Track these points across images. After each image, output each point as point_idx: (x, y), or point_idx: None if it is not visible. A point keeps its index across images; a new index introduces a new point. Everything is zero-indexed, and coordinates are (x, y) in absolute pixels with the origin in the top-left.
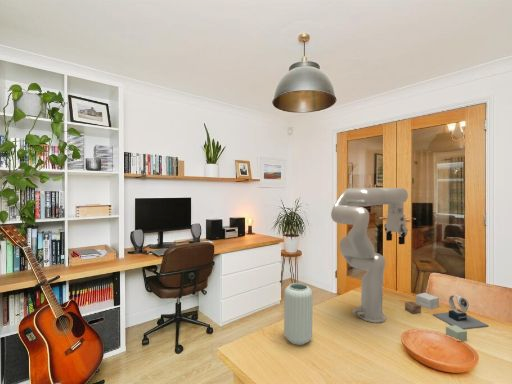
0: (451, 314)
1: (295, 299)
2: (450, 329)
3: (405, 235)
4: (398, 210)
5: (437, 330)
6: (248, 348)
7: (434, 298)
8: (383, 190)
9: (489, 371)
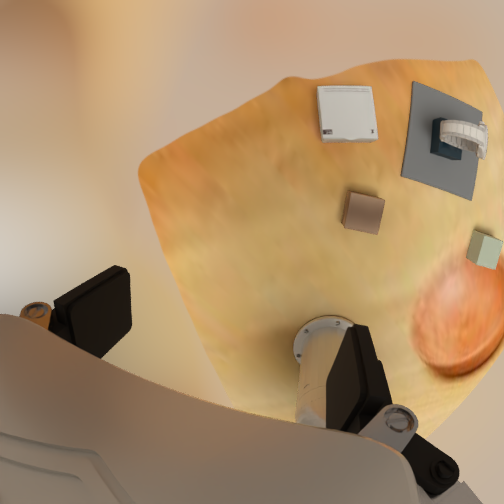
0: (442, 155)
1: None
2: (483, 266)
3: (423, 440)
4: None
5: (449, 253)
6: None
7: (373, 109)
8: None
9: None
